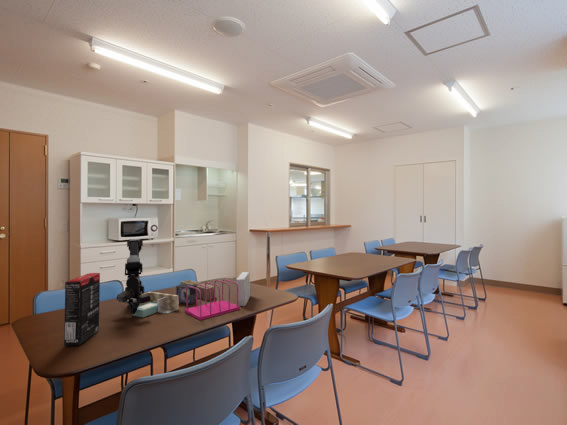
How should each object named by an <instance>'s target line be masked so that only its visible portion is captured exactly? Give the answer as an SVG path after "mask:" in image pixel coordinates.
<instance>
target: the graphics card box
mask: <svg viewBox="0 0 567 425" xmlns="http://www.w3.org/2000/svg"><path fill="white" fill-rule="evenodd" d="M100 279H101V274H100V272H89V273H86V274H83V275H80V276H78V277H75V278H72V279H70V280H67V281H65V283H64V284H65V287H64V290H65V291H64V295H65V296H64V333H63V346H65V347H67V346H69V347H70V346H81V345H82V344H83V343H84V342H86V341H87V340H88V339H90V338H91V337H92V336H94V335H95V334H96V333H97V332H99V331H100V293H101V292H100V291H101V290H100V288H101V287H100V285H101V284H100V281H101V280H100Z"/></svg>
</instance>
